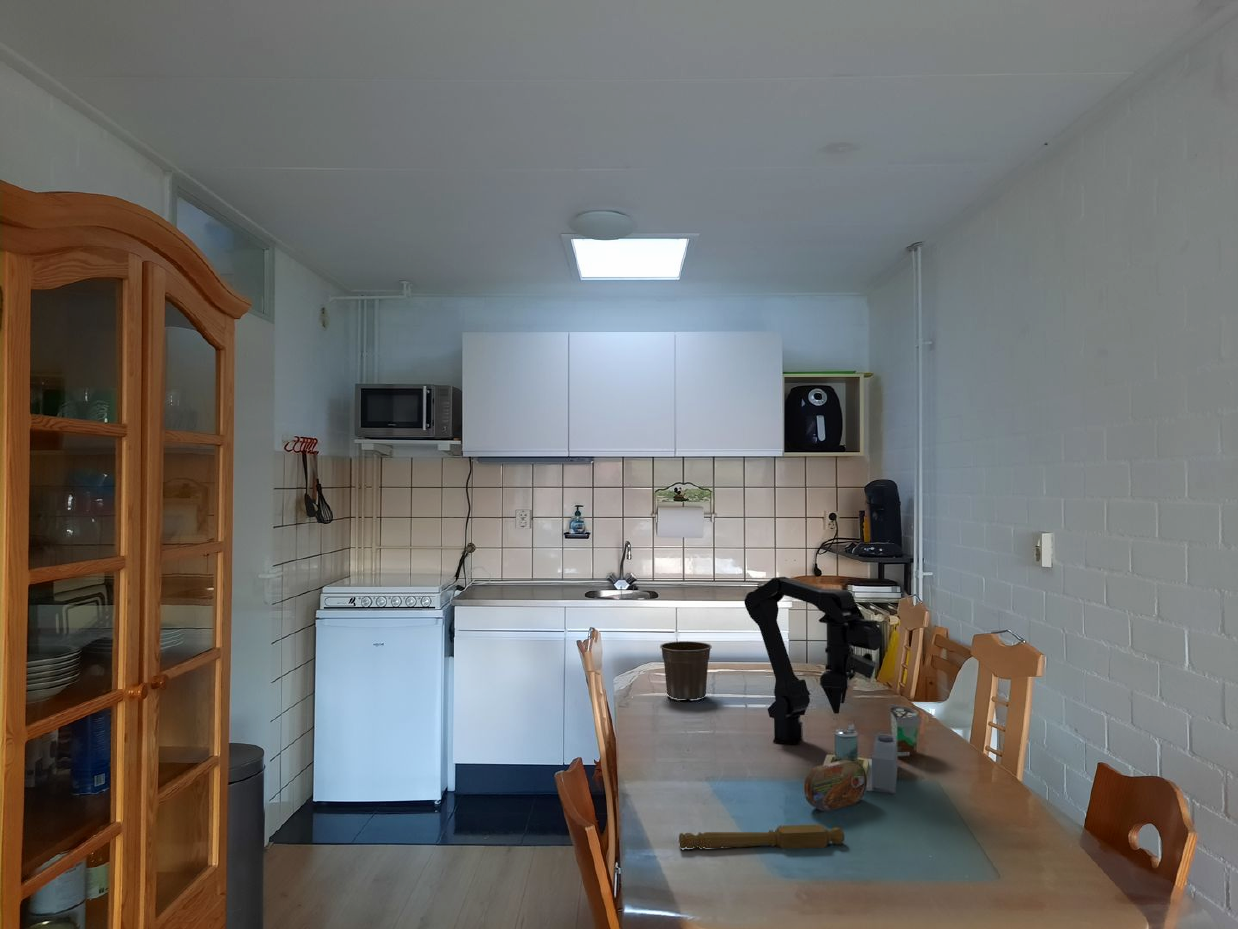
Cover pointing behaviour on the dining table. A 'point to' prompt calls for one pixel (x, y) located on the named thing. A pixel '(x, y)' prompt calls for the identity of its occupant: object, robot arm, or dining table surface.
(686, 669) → the plant pot
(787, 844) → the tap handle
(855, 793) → the tin
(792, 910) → the dining table surface
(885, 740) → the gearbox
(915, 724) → the food container
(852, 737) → the spout can
